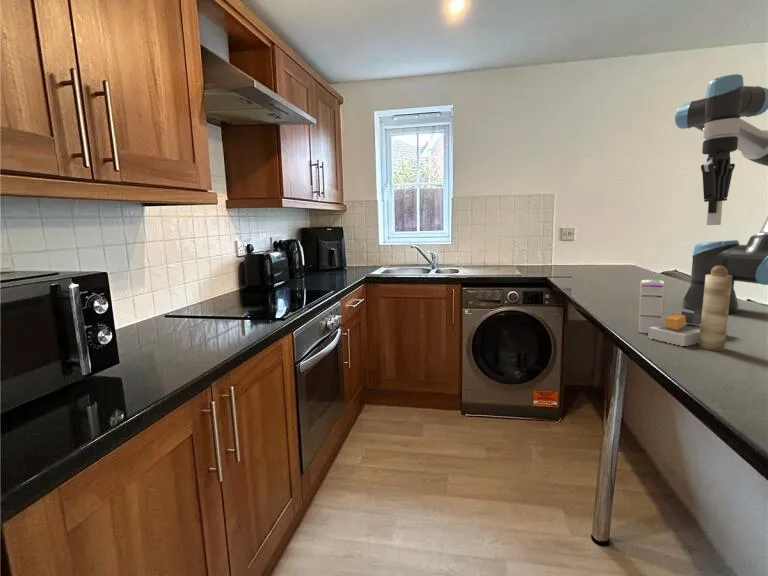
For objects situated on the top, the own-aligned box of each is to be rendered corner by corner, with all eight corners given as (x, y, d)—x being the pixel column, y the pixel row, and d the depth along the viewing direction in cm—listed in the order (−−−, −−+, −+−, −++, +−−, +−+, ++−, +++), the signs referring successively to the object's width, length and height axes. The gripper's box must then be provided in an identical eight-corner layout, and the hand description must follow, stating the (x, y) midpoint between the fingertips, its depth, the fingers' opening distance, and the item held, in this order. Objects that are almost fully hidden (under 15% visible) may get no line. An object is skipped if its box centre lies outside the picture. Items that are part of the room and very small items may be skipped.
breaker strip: (691, 328, 120) (692, 317, 119) (727, 335, 112) (729, 323, 111) (647, 338, 111) (648, 326, 111) (683, 347, 103) (685, 334, 103)
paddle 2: (700, 319, 116) (702, 309, 115) (712, 321, 113) (714, 311, 113) (692, 318, 114) (695, 308, 114) (705, 320, 111) (707, 310, 111)
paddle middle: (687, 322, 113) (689, 312, 113) (699, 324, 110) (701, 314, 110) (679, 321, 111) (682, 311, 111) (692, 323, 109) (694, 313, 109)
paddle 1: (673, 323, 110) (673, 313, 110) (685, 325, 108) (685, 315, 107) (665, 327, 109) (664, 317, 108) (677, 330, 106) (676, 320, 106)
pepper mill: (705, 343, 106) (713, 264, 102) (728, 348, 101) (737, 265, 98) (694, 346, 103) (702, 265, 100) (717, 352, 99) (726, 267, 96)
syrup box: (662, 335, 114) (666, 283, 111) (636, 332, 117) (640, 281, 115) (661, 330, 119) (665, 280, 116) (637, 327, 122) (640, 279, 119)
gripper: (716, 140, 119) (710, 223, 124) (691, 139, 114) (686, 226, 118) (749, 135, 113) (741, 223, 117) (724, 134, 107) (716, 226, 111)
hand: (713, 224), depth 117 cm, fingers closed
